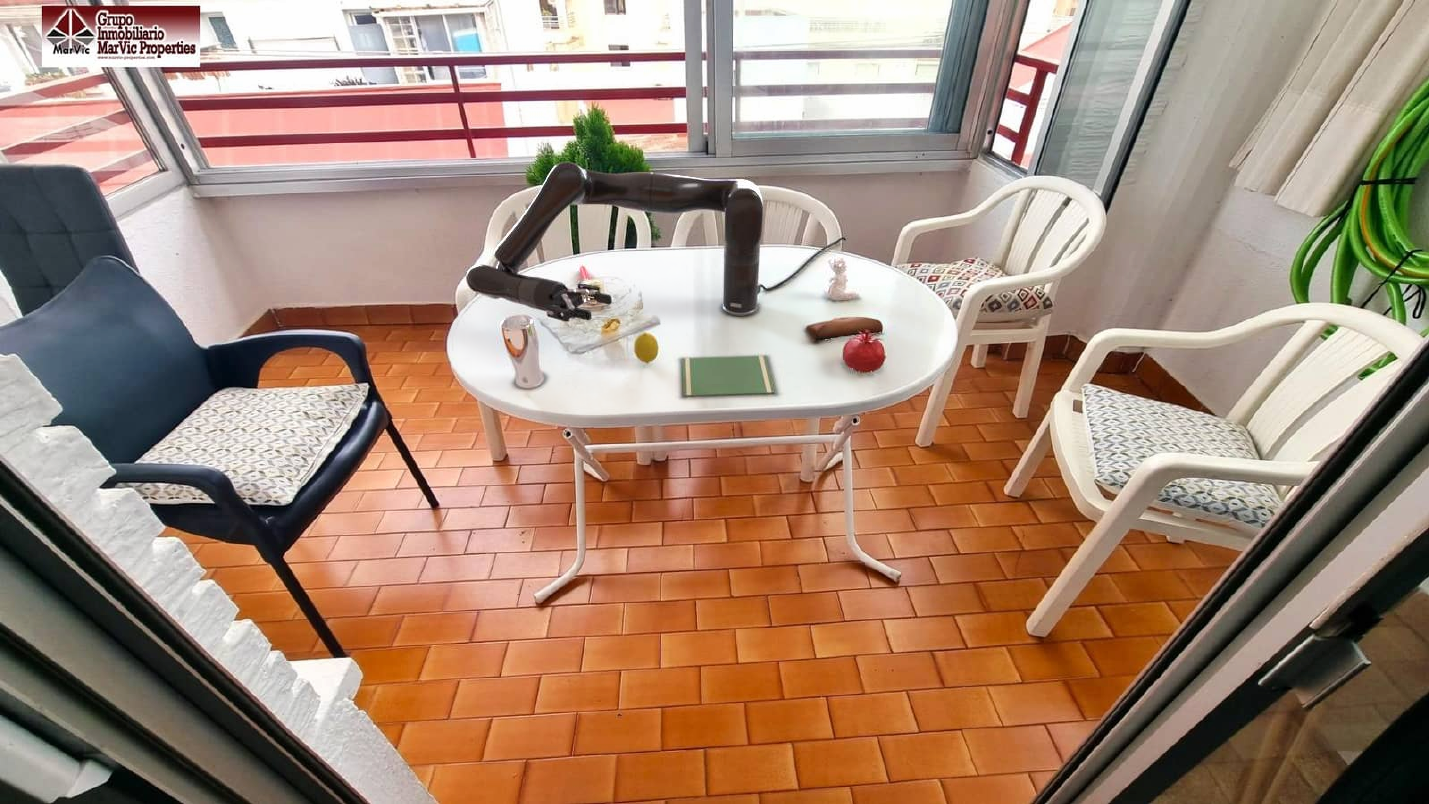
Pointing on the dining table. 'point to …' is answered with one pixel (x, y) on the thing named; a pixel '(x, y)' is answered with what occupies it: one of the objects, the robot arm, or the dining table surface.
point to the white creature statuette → (838, 281)
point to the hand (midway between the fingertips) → (600, 307)
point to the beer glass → (523, 349)
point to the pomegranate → (864, 353)
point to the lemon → (646, 347)
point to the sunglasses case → (843, 327)
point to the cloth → (726, 376)
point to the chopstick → (583, 272)
